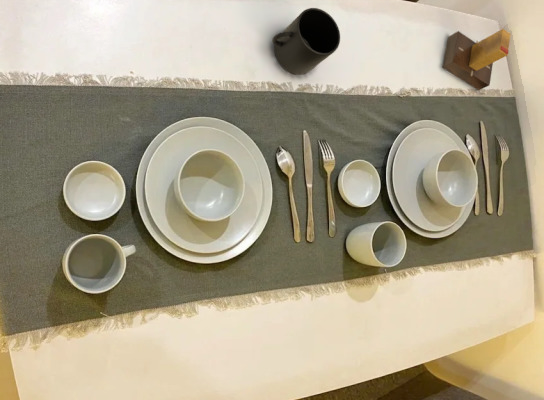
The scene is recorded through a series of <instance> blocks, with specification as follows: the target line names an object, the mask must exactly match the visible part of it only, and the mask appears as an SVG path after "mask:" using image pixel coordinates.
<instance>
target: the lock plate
mask: <svg viewBox="0 0 544 400" xmlns="http://www.w3.org/2000/svg"><path fill="white" fill-rule="evenodd" d="M478 42H479V41H478V40H476V41H474V40H473V39H471V38H470V37H469V36H466V34H463V32H461V31H459V30H458V31H456V32H455V33H453V34H451V35H450V36H449V35H448V37H447V41H446V46H445V47H446V48H445V52H444V57H443V63H442V69H444V70H446V71H448V72H449V73H450V74H451V75H453V76H456V77H457V78H458V79H460V80H461V81H463V82H465V83H466V84H468V85H469V86H471V87H473V88H474V89H476V90H477V91H481V90H483V89H485V88H487V87H490V84H491V79H492V71H493V65H494V62H493V63H491V64H489V65H487V66H485V67H483V68H481V69H479V70H477V71H476V70H474V69H473V68H471V67H470V66H469V62H470V56H471V51H472V46H473V45H474V44H476V43H478Z"/></svg>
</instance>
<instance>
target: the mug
mask: <svg viewBox="0 0 544 400" xmlns="http://www.w3.org/2000/svg"><path fill="white" fill-rule="evenodd" d="M271 42H272V44H273V45H274V53H275V57H276V59H277V61H278V64H280V66H281V67H282V68H283V69H284V70H285V71H287V72H289V73H290V74H293V75H298V76H299V75H306V74H308V73H310V72H311V71H312V70H313V69H314V68H316V67H317V66H319V64H321V63H322V62H324V61H325V60H327V59H328V58H329V57H330V56H331V55H332V54H334V53H335V52H336V51H337V50H338V48H339V46H340V42H341V33H340V28H339V25H338V24H337V22H336V20H335V19H334V18H333V17H332V16H331V14H330V13H329V12H326V11H325V10H324V9H321V8H318V7H308V8H306V9H304V10H303V11H302V12H301V13H299V14H298V16H296V18H295V19H294V20H293V21H292V22H291V23H290V24H289V25H288V26H287V27H286V28H285V29H283V30H282V32H279V33H277V34H275V35H273V37H272V41H271Z"/></svg>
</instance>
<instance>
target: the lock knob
mask: <svg viewBox="0 0 544 400" xmlns="http://www.w3.org/2000/svg"><path fill="white" fill-rule="evenodd" d="M510 41H511V33H510V32H508V31H507V30H506V29H504V28H501V29H499V30H498V31H496V32H494V33H492V34H491V35H489V36H487V37H485V38H484V39H482V40H480V41H478V43H476V42H475V43H476V44H474V45H473V46H472V51H471V56H470V62H469V66H470V67H471V68H473V69H474V70H476V71H477V70H479V69H481V68H483V67H485V66H487V65H489V64H491V63H493V64H494V63H495V62H497V61H499V60H501V59H503V58H505V57H508V55H509V51H510V50H509V48H510Z"/></svg>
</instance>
